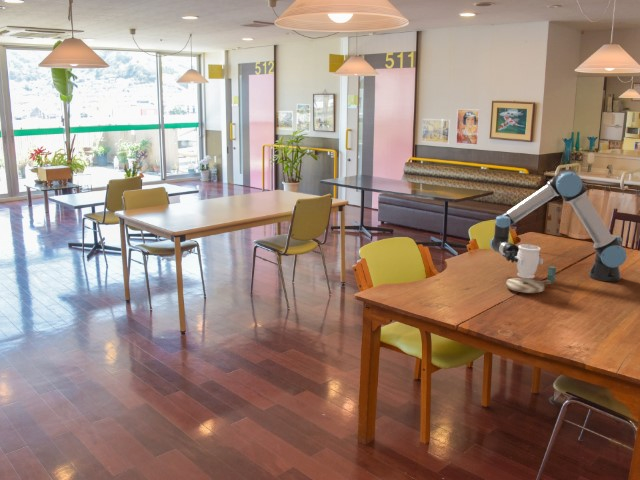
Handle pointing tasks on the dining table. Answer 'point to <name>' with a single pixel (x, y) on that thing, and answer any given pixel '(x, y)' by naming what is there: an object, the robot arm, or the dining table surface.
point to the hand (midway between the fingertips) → (532, 262)
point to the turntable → (531, 283)
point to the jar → (528, 260)
